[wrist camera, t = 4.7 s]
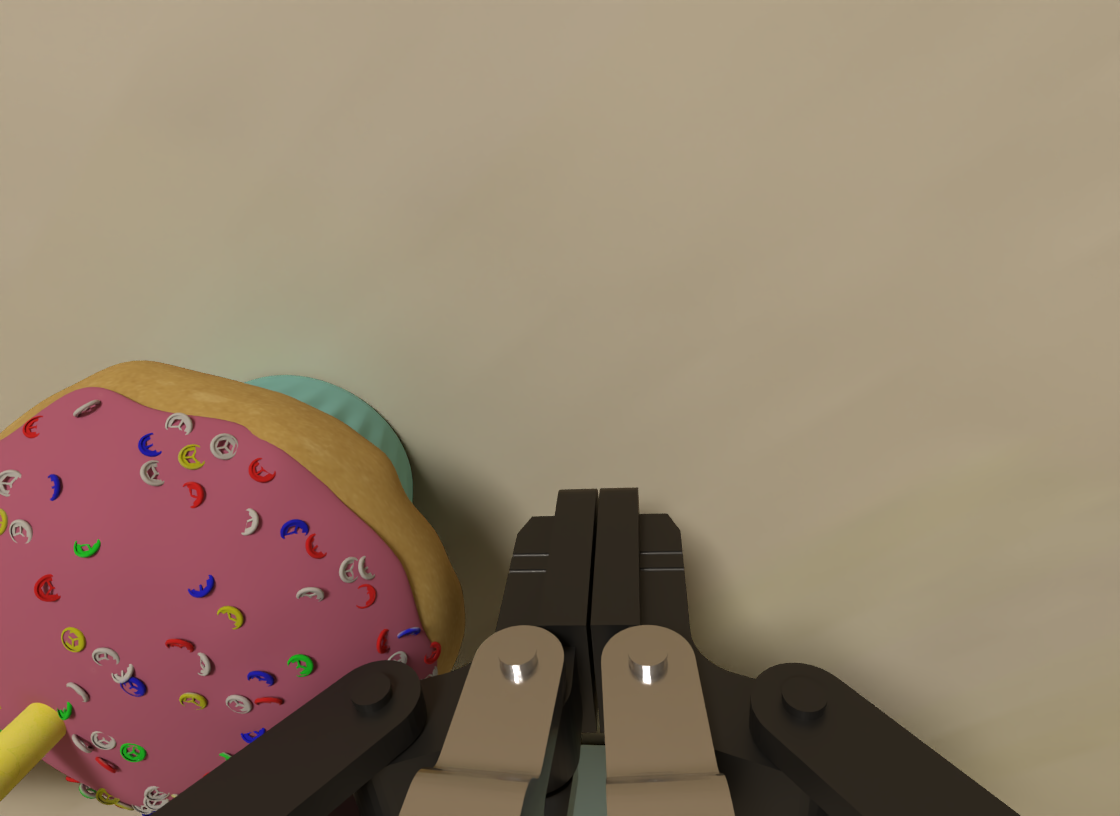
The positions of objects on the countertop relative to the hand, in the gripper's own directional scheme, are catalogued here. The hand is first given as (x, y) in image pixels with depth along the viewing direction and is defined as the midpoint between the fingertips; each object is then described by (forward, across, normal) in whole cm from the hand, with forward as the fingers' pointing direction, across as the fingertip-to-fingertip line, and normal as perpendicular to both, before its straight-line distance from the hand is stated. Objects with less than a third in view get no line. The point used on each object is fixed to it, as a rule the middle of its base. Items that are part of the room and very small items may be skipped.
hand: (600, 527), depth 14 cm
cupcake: (+2, +7, 0) cm, 7 cm away
